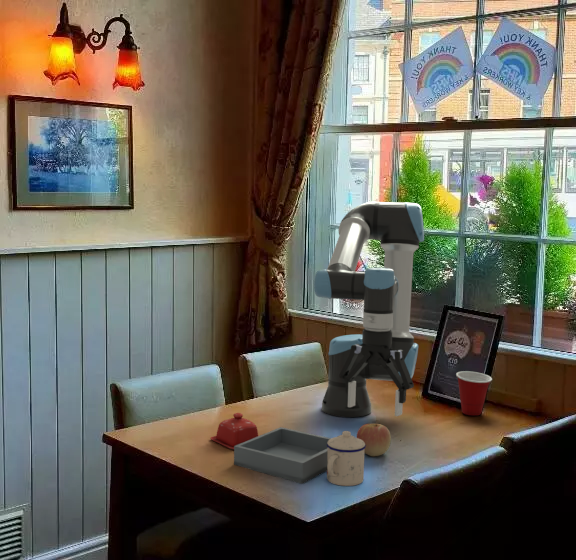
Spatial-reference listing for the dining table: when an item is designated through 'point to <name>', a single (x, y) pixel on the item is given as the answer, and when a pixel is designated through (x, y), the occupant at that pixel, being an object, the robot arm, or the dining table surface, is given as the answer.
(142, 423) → the dining table surface
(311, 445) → the bin
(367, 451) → the apple
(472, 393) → the plastic cup
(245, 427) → the butter dish
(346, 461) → the teacup with lid
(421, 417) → the dining table surface
